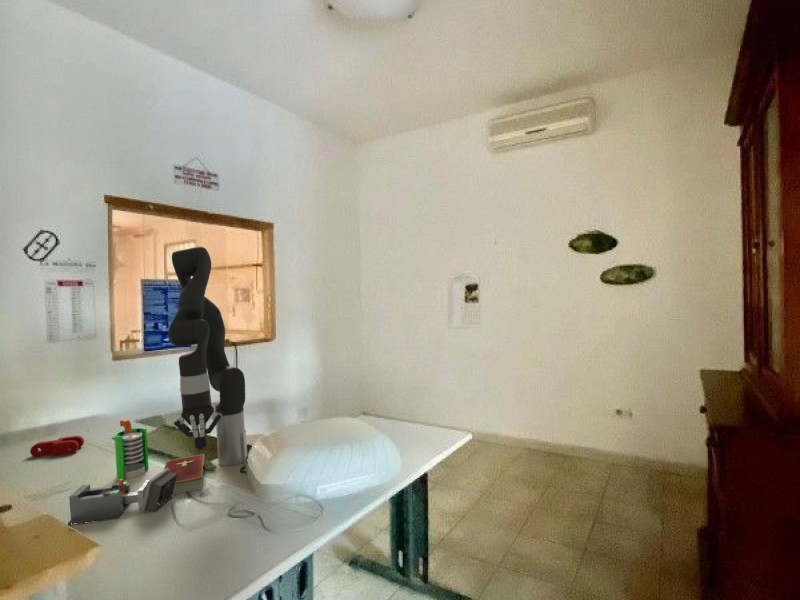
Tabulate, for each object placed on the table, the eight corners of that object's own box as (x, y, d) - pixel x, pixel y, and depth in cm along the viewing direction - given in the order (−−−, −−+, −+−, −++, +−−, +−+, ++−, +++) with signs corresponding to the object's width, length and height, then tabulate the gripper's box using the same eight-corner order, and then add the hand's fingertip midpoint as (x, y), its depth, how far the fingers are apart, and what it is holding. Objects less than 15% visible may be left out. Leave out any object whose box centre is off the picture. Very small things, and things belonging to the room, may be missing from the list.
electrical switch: (160, 497, 127) (161, 466, 127) (178, 499, 127) (178, 468, 127) (140, 515, 118) (140, 481, 117) (158, 516, 118) (159, 482, 117)
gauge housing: (133, 500, 126) (131, 476, 126) (119, 518, 116) (117, 492, 116) (86, 507, 124) (84, 482, 123) (67, 525, 114) (65, 499, 114)
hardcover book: (157, 499, 127) (156, 485, 127) (166, 472, 147) (165, 459, 147) (202, 490, 132) (201, 476, 132) (205, 465, 151) (204, 453, 151)
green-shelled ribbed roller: (131, 480, 141) (127, 425, 140) (110, 479, 142) (106, 424, 142) (152, 468, 150) (148, 416, 149) (132, 467, 151) (128, 416, 151)
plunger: (152, 498, 126) (150, 471, 126) (143, 510, 119) (141, 481, 119) (101, 505, 123) (99, 477, 123) (89, 518, 116) (87, 488, 116)
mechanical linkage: (84, 447, 175) (83, 434, 175) (77, 453, 168) (76, 440, 168) (36, 453, 170) (35, 441, 170) (27, 460, 163) (26, 447, 163)
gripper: (221, 383, 129) (227, 440, 130) (173, 389, 126) (179, 448, 127) (218, 389, 122) (224, 449, 123) (166, 396, 119) (173, 458, 120)
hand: (201, 448), depth 125 cm, fingers closed
